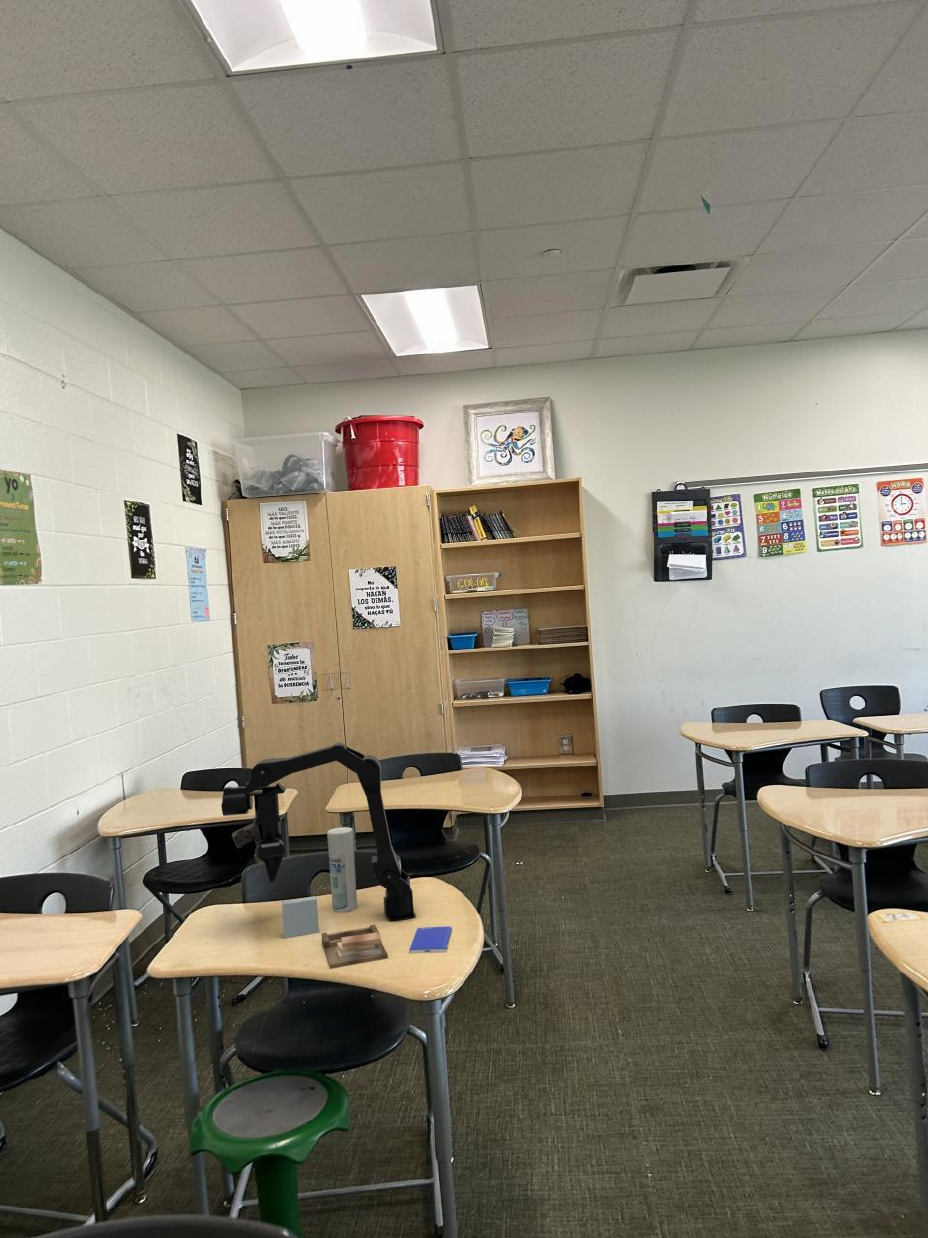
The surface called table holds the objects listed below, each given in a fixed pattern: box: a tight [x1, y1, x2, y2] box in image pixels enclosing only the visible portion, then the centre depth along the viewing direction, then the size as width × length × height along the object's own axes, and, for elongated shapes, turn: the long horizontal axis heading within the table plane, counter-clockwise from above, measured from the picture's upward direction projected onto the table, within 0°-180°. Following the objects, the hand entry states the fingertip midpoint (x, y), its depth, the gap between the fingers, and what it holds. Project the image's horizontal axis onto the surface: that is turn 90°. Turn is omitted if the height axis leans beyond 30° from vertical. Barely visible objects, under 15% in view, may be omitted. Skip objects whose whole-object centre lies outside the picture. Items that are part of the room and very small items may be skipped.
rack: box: [321, 924, 389, 969], centre depth 180 cm, size 12×15×2 cm
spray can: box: [326, 826, 358, 914], centre depth 208 cm, size 6×6×20 cm
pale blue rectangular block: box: [281, 895, 320, 939], centre depth 192 cm, size 8×2×8 cm, turn 106°
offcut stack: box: [337, 932, 382, 961], centre depth 176 cm, size 9×5×3 cm, turn 106°
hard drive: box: [408, 925, 453, 954], centre depth 182 cm, size 2×8×12 cm
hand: (271, 876), depth 197 cm, fingers open, 9 cm apart
